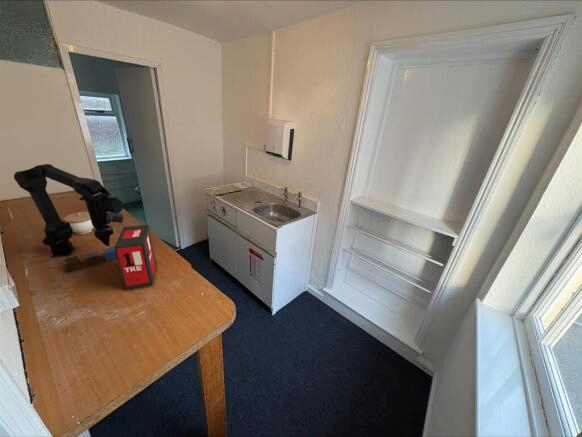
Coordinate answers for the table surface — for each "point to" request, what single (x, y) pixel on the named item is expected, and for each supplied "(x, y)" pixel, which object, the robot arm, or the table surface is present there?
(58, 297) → the table surface
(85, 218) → the lidded bowl
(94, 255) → the walnut block
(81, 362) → the table surface
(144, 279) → the cleaning product box
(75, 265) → the walnut block
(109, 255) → the blue block
